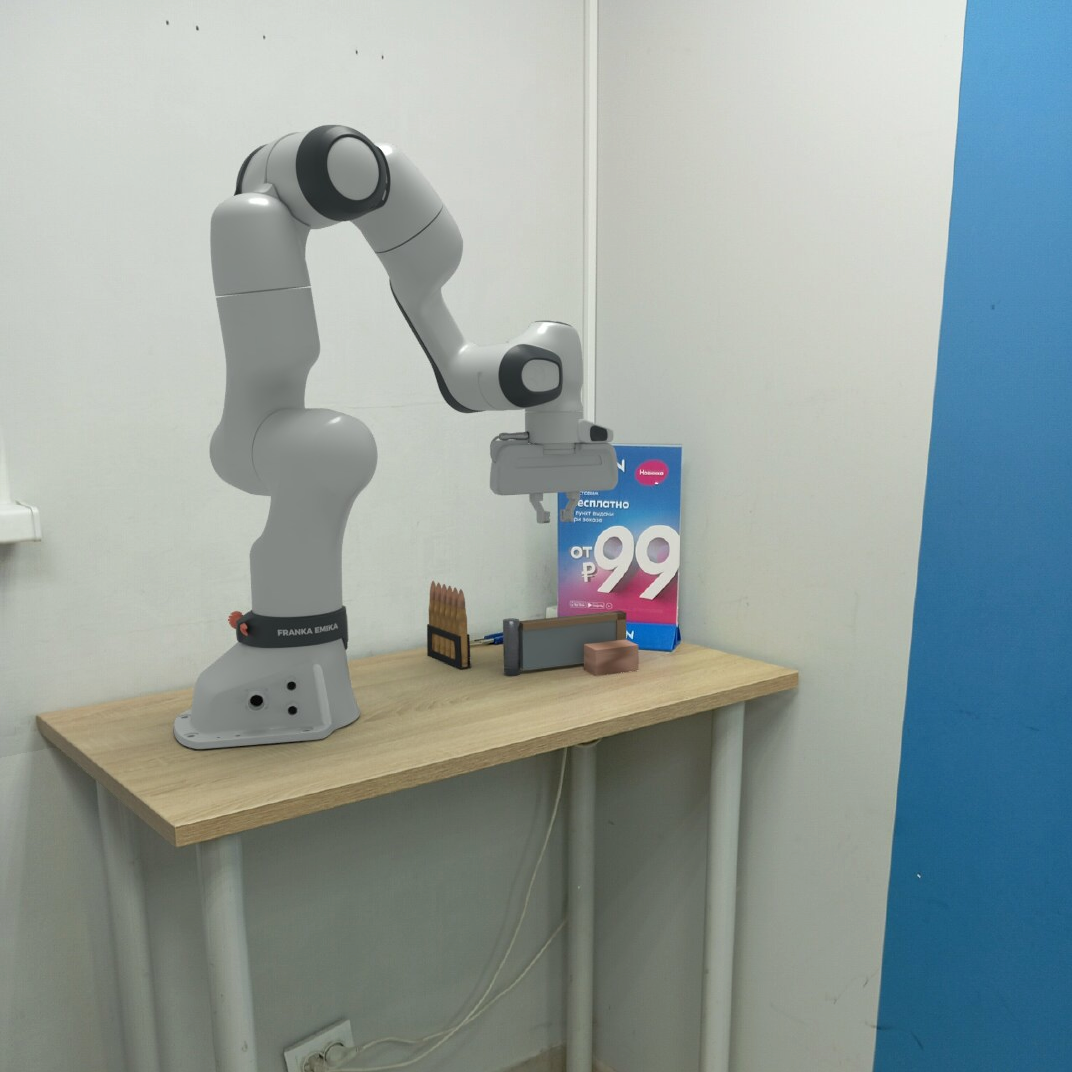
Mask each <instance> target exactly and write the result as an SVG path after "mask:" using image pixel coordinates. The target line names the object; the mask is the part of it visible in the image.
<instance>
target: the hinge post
mask: <svg viewBox="0 0 1072 1072" xmlns="http://www.w3.org/2000/svg"><path fill="white" fill-rule="evenodd" d="M519 621H520V619H519V618H513V617H512V618H504V619H502V639H503V640H502V641H503V643H502V644H503V645H502V647H503V648H502V651H503V652H502V653H503V654H502V655H503V675H504V676H506V677H517V676H519V675H520V674H521V669H520V630H519Z"/></svg>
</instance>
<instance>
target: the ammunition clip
mask: <svg viewBox="0 0 1072 1072" xmlns="http://www.w3.org/2000/svg"><path fill="white" fill-rule="evenodd" d="M465 599H466V598H465V595H464V592H463V590H462V588H460V589H459V592H458V589H457V587H454V588H452V587H451V585H448V588H447V586H446V584H445V583H444V584H442V585H441V583H440V582H437V583H435V581H434V580H432V581H431V584H430V587H429V604H428V623H427V624H426V639H427V640H426V649H427V650H426V651H427V652H426V656H427V657H429V658H431V659H434V660H436V661H439V662H441V663H443V664H446V665H448V666H451V667H453V668H455V669H457V670H461V671H462V670H466V669H470V668H471V665H472V664H471V644H470V643H471V641H470V640H471V639H470V638H471V637H470V634H469V633H468V617H467V616H468V615H467V611H466V600H465Z"/></svg>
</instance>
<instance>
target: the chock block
mask: <svg viewBox="0 0 1072 1072" xmlns="http://www.w3.org/2000/svg"><path fill="white" fill-rule="evenodd" d="M639 647H640V646H639V644H637V643H634V642H632V641H630V640H628V639H626V640H617V641H608V642H599V643H591V644H584V663H583V670H584V671H586V670H587V671H588V673H589V672H590V673H589V674H591V675H593V676H595V677H600V676H607V674H608V675H614V674H616V675H617V674H624V673H630V672H629V671H632V672H637V670H639V664H640V663H639V662H640V661H639V658H640V656H639V655H640V654H639V651H640V650H639V649H640V648H639ZM587 671H586V672H587ZM621 672H622V673H621ZM623 672H624V673H623Z"/></svg>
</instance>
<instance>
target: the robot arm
mask: <svg viewBox="0 0 1072 1072" xmlns="http://www.w3.org/2000/svg"><path fill="white" fill-rule="evenodd" d="M342 222H351V224H353V225H354V226H355V227H356V228H357V229H358V230H359V231H360V232H361V234H362V236H363V237H364V239H365V241H366V242H367V244H368V245H369V246H370V248H371V250H372V251H373V253H375V255H376V256H377V258H378V259H379V261H380V263H381V265H382V266H383V267H384V269H385V271H386V273H387V276H388V278H389V279H388V280H389V287H390V291H391V294H392V297H393V298H394V300H395V303H396V305H397V307H398V308H399V311H400V313H401V314H402V316H403V318H404V319H405V321H406V323H407V324H408V326H409V328H410V330H411V332H412V333H413V335H414V337H415V339H416V341H417V342H418V344H419V345H420V347H421V349H422V351H423V352H424V355H426V358H427V359H428V361H429V363H430V366H431V368H432V371H433V373H434V377H435V380H436V383H437V386H438V389H439V392H440V394H441V396H442V398H443V400H444V401H445V402H446V404H447V405H449V406H450V408H451V409H453V410H454V411H456V412H458V413H463V414H473V413H482V412H486V411H487V412H490V411H494V412H495V411H497V412H498V411H499V412H500V411H503V412H504V411H520V410H521V411H522V410H524V431H518V432H501V433H499V434H498V435H496V436H494V438H492V440H491V442H490V443H489V444H490V445H489V450H490V451H489V455H490V459H491V465H490V476H489V488H490V490H491V491H492V493H494V495H497V496H515V495H518V496H519V495H528V497H529V502H530V503H531V504H530V505H532V508H533V509H534V511H535V512H536V523H537V524H550V522H551V518H550V517H551V512H550V511H548V510H545V508H544V507H543V505H542V503H541V502H543V501H544V494H556V493H557V494H558V493H565V496H566V498H567V499H568V501H567V503H566V506H565V508H564V509H559V514H560V516H559V518H560V519H559V520H560V522H562V523H570V522H571V523H572V522H574V519H575V518H574V515H575V514H574V511H575V509H576V507H577V506H578V504H579V502H580V500H581V492H595V491H596V492H597V491H613V490H614V489H615V488H616V486H617V485H618V483H619V466H618V465H619V463H618V456H617V452H616V449H615V447H614V446H613V445H612V444H611V443H612V442H613V440H614V430H613V429H612V428H611V427H608V426H605V425H602V424H598V423H595V422H593V421H590V420H586V419H584V406H583V404H582V403H583V402H582V398H581V392H582V389H583V384H584V363H583V362H584V361H583V351H582V350H583V348H582V342H581V339H580V336H579V332H578V331H577V329H576V328H575V327H573V326H572V325H571V324H567V323H564V322H562V321H558V320H557V321H554V320H553V321H552V320H536V321H533V322H531V323H529V324H528V326H527V328H526V330H524V331H523V332H522V333H521V334H519V335H517V336H516V337H514V338H512V339H509V340H507V341H506V342H503V343H497V344H494V343H493V344H484V345H481V344H477V343H475V342H472V341H470V340H468V339H467V338H466V337H465V336H464V335H463V334H462V332H461V330H460V328H459V326H458V324H457V323H456V321H455V319H454V317H453V315H452V313H451V312H450V310H449V308H448V306H447V304H446V302H445V300H444V298H443V294H442V288H443V287H444V286H445V284H447V282H448V281H449V280H450V279H451V278H452V277H453V275H455V273H456V272H457V270H458V268H459V266H460V263H461V260H462V256H463V252H464V240H463V237H462V234H461V233H462V232H461V231H460V229H459V226H458V224H457V222H456V220H455V219H454V217H453V215H452V214H451V212H450V211H449V209H448V208H447V206H446V204H445V203H444V201H443V200H442V199H441V197H440V195H439V194H438V193H437V191H436V190H435V189H434V187H433V185H432V184H431V183H430V181H429V180H428V179H427V178H426V176H425V175H424V174H423V173H422V171H421V170H420V169H419V168H418V167H417V166H416V165H415V163H414V162H413V161H412V159H410V158H409V157H408V156H407V155H406V154H405V153H404V152H403V151H402V150H401V149H400V148H399V147H398V146H396V145H394V144H393V143H390V142H386V141H375V142H373V141H372V140H371V139H370V138H368V137H367V136H366V135H365V134H363V132H361V131H358V130H357V129H355V128H352V127H349V126H346V125H341V124H324V125H321V126H320V125H319V126H318V127H315V128H313V129H309V130H304V131H295V132H291V133H290V132H289V133H288V134H285V135H283V136H280V137H278V138H277V139H275V140H273V141H270V142H269V143H266V144H262V145H261V146H259V147H256V149H255V150H253V151H252V152H251V153H249V154H248V156H247V157H246V158H245V160H244V161H243V162H242V164H241V165H240V168H239V171H238V173H237V177H236V183H235V191H234V194H233V196H231V197H228V198H226V199H225V200H224V201H222V202H221V203H219V204H218V205H217V206H216V207H215V208H214V210H213V212H212V215H211V218H210V231H209V233H210V234H209V235H210V236H209V237H210V240H209V241H210V263H211V273H212V281H213V282H212V283H213V288H214V294H215V300H216V306H217V313H218V319H219V324H220V331H221V336H222V341H223V350H224V355H225V366H226V368H225V371H226V372H225V374H226V375H225V393H224V402H223V410H222V415H221V419H220V421H219V423H218V425H217V427H216V428H215V430H214V431H213V433H212V435H211V439H210V442H209V459H210V462H211V465H212V467H213V470H214V471H215V474H217V476H218V477H219V478H220V480H222V481H224V482H225V483H227V484H228V485H230V486H232V487H234V488H236V489H238V490H240V491H243V492H245V493H247V494H251V495H254V496H255V495H256V496H263V497H270V502H269V503H270V505H269V510H268V516H267V518H266V519H267V520H266V524H265V526H264V528H263V531H262V533H261V535H260V536H259V537H258V538H257V539H256V540H255V541H254V542H253V544H251V547H250V550H249V569H250V586H251V587H250V591H251V608H252V609H250V610H248V612H246V613H244V614H243V612H241V611H237V610H235V611H231V613H230V615H228V618H227V620H228V623H229V625H230V627H231V628H233V629H235V634H236V641H237V642H236V643H235V644H234V645H233V646H232V647H231V648H229V649H228V650H227V651H225V653H223V654H222V655H221V656H220V657H218V659H216V660H215V661H214V662H213V663H211V664H210V665H209V666H208V667H207V668H205V669H204V670H203V671H202V672H201V673H200V674H199V676H198V677H197V678H196V682H195V685H194V689H193V692H192V698H191V699H192V700H191V708H190V709H188V710H185V711H183V712H181V713H180V714H179V715H177V717H176V718H175V720H174V722H173V734H174V737H175V739H176V740H177V741H178V743H180V744H181V745H183V746H184V747H185V746H186V747H188V748H190V749H196V750H205V749H218V748H230V747H240V746H241V747H242V746H243V747H244V746H254V745H265V744H277V743H278V744H279V743H289V742H301V741H303V742H304V741H313V740H315V741H316V740H321V739H324V738H326V737H328V736H330V735H331V734H332V733H333V732H334V731H336V730H337V729H340V728H343V727H345V726H348V725H350V724H351V723H353V722H355V721H356V720H357V719H358V718H359V717H360V715H361V710H360V708H359V706H358V703H357V700H356V697H355V696H356V695H355V693H354V689H353V683H352V680H351V679H352V678H351V676H350V669H349V664H348V657H347V650H348V647H349V646H348V642H349V619H348V614H347V607H346V606H345V605H343V572H342V571H343V569H342V567H343V563H342V560H343V557H342V556H343V555H342V554H343V544H344V536H345V531H346V527H347V524H348V519H349V517H350V513H351V511H352V508H353V505H354V503H355V501H356V499H357V498H358V496H359V495H360V494H361V493H362V491H363V490H365V489H366V487H367V486H368V485H369V484H370V482H371V481H372V479H373V478H374V475H375V473H376V470H377V466H378V465H377V464H378V447H377V443H376V442H377V441H376V439H375V437H374V434H373V433H372V431H371V429H370V428H369V427H368V426H367V424H366V423H364V422H363V421H362V420H360V419H359V418H357V417H354V416H352V415H350V414H347V413H343V412H340V411H336V410H335V409H334V410H333V409H331V408H325V407H323V408H321V407H320V408H319V407H318V408H317V407H315V408H314V407H313V408H312V407H311V408H309V407H308V408H306V405H305V404H306V403H305V395H306V387H307V381H308V377H309V374H310V371H311V369H312V368H313V366H314V365H315V364H316V363H317V361H318V359H319V357H320V353H321V342H320V336H319V330H318V329H319V328H318V324H317V316H316V311H315V304H314V299H313V298H314V297H313V291H312V287H311V286H312V285H311V279H310V274H309V273H310V272H309V270H308V264H307V260H306V248H307V240H308V236H309V234H310V232H311V230H322V229H325V228H328V227H332V226H334V225H335V226H336V225H337V224H341V223H342ZM498 439H499V440H498Z"/></svg>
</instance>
